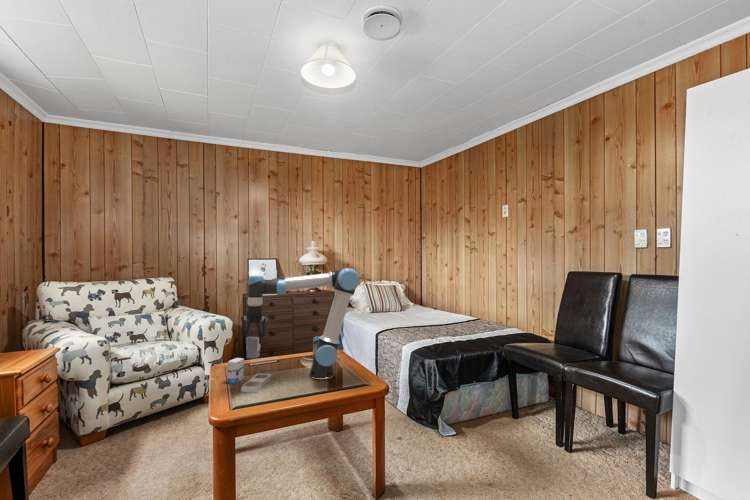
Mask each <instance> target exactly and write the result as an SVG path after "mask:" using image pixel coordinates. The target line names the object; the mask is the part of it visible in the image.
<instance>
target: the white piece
mask: <svg viewBox="0 0 750 500" xmlns="http://www.w3.org/2000/svg"><path fill="white" fill-rule="evenodd" d="M271 379H272V373H256V374H255V375H254V376H253V377H251V378H250V379H249V380H247V381H246V382H245V383H243V384H242V386H241V387H240V392H241V393H258V392H260V390H261V389H262V388H263V387H264V386H265V385H266V384H267V383H268V382H269V381H270V380H271Z"/></svg>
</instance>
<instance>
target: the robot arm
mask: <svg viewBox="0 0 750 500" xmlns="http://www.w3.org/2000/svg"><path fill="white" fill-rule="evenodd" d="M360 280H361V279H360V276H359V273H358V272H357V271H356V270H355V269H353V268H350V267H347V268H346V267H344V268H340V269H336V270H329V272H325V273H317V274H315V273H314V274H306V275H298V276H288V277H287V276H286V277H275V278H273V279H265V278H264V275H250V276H249V277H248V284H247V309H246V310H247V311H246V313H247V314H246V315H245V316H241V318H240V319H241V336H242V337H244V344H246V345H245V346H246V349H245V350H246V351H247V338H249V337H250V333H251V329H252V326H253V324H255V326H256V329H257V333H258V336H257V337H258V338H257V351H259V350H260V351H261V345H262V344H263V337H266V336H267V321H268V320H269V318H268V317H267V316H264V315H263V301H264V299H263V298H264V297H263V296H264V295H265V294H267V295H268V294H269V295H273V294H274V295H284V294H286V292H287V291H295V290H304V289H313V288H322V287H323V288H324V287H330V288H333V291H334V292H335V293H334V297H333V299H332V300H333V301H332V304H331V308H330V311H329V313H328V317H327V320H326V323H325V327H324V330H323V334H322V335H321V336H320V335H319V336H318V335H317V336H314V337H313V339H312V340H313V341H312V364H311V367H310V370H309V372H308V376H310V377H314V378H325V377H331V376H333V375H335V376H336V374H335V373H336V369H335V366H334V364H335V363H336V361H337V359H338V354H339V353H338V350H339V347H340V344H341V343H340V340H339V337H340V333H341V330H342V328H343V324H344V320H345V316H346V313H347V310H348V306H349V302H350V300H351V297H353V296H354V295H355V292H356V288H358V286H359V284H360ZM263 294H264V295H263ZM247 320H248V322H247ZM261 320H262V321H261ZM261 322H262V325H261ZM310 377H309V378H310Z"/></svg>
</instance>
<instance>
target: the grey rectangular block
mask: <svg viewBox="0 0 750 500" xmlns="http://www.w3.org/2000/svg"><path fill="white" fill-rule="evenodd" d="M248 337H249V338H247V350H246V359H257V358H259V357H260V355H261V354H260V353H261V349H260V350H259V351H257V338H258V337H259V336H248Z"/></svg>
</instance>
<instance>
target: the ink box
mask: <svg viewBox="0 0 750 500" xmlns="http://www.w3.org/2000/svg"><path fill="white" fill-rule="evenodd" d="M244 367H245V358H241V357H235V358H233V359H230V360H228V362H227V381H226V382H227V384H230V385H231V384H232V385H235V384H237V383H240V382H241V381H242V380H243V381H244V375H245V374H244V370H245V368H244Z"/></svg>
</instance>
